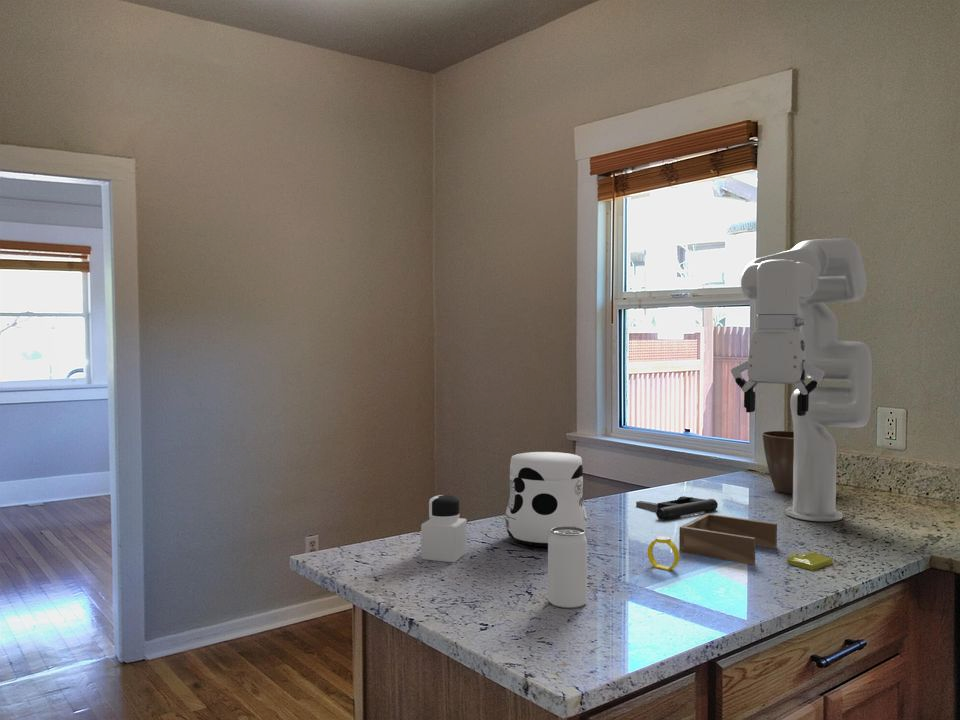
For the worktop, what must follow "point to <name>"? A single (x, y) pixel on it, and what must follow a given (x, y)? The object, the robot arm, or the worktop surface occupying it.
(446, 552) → the medicine bottle
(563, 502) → the milk container
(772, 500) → the worktop surface
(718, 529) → the box
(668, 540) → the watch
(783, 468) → the plant pot
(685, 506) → the door handle
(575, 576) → the can
